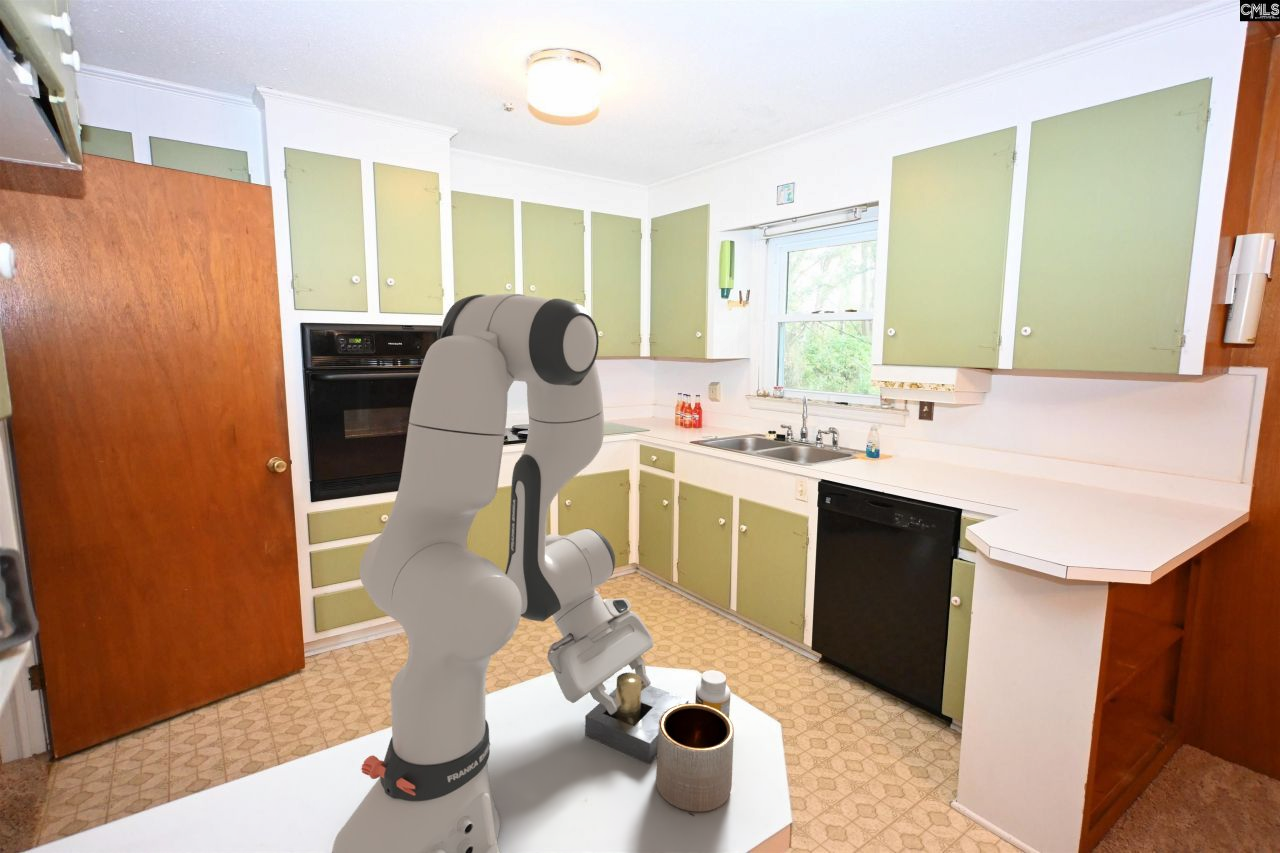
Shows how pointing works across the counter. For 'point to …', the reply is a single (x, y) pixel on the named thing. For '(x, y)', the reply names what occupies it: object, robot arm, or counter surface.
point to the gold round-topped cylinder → (629, 698)
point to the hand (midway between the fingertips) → (631, 699)
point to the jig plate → (629, 738)
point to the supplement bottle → (714, 691)
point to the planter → (695, 757)
